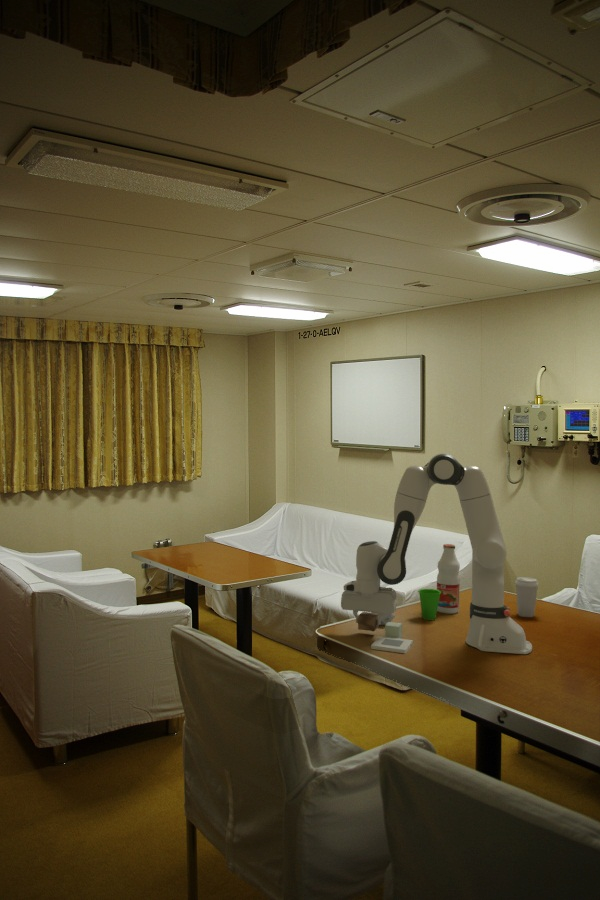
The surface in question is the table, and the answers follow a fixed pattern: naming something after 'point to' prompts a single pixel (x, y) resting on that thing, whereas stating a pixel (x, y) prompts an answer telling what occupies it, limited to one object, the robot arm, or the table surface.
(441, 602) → the fruit juice
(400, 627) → the sage block
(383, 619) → the white block
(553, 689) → the table surface
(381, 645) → the plate
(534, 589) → the coffee cup
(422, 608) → the cup
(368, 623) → the walnut block
